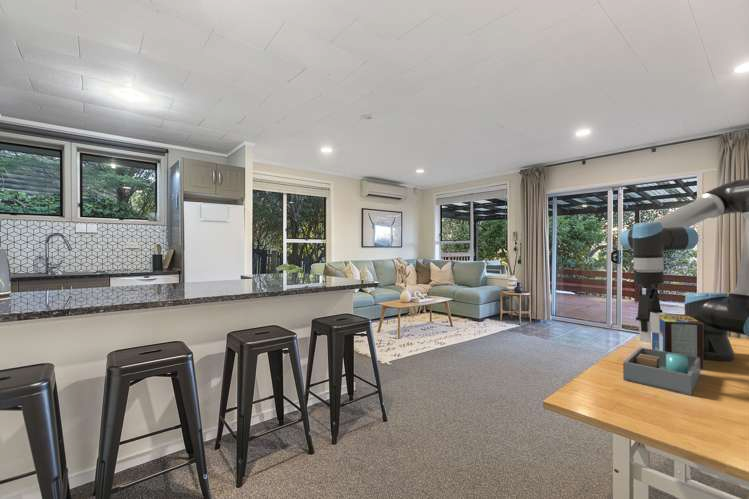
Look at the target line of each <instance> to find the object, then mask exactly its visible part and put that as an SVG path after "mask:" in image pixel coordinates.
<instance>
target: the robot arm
mask: <svg viewBox="0 0 749 499" xmlns="http://www.w3.org/2000/svg"><path fill="white" fill-rule="evenodd" d="M734 213H735V214H736V213H741V216H742V217H743V218H744V219H745V220H746V224H745V230H744V237H743V244H742V250H741V256H740V262H739V268H738V276H737V281H736V287H735V289H733V290H731V291H730V292H728V293H727V292H692V293H691V292H689V293H687V294H686V295H685V297H684V304H683V305H684V314H685V315H688V316H690V317H692V318H694V319H696V320H698V321H700V322H702V323H703V360H711V361H725V362H726V361H727V362H728V361H733V360H734V359H735V351H734V350H733V346H732V344H731V342H730V339H729V337H728V334H729V332H730V333H735V334H738V335H743V336H747V337H749V178H744V179H737V180H732V181H729V182H727V183H724V184H721V185H719V186H717V187H715V188H712V189H710V190H708V191H706V192H704V193H701V194H700V195H698V196H696V198H695V200H694V201H692V202H690V203H688V204H685V205H683V206H682V207H680V208H677V209H675V210H673V211H671V212H669V213H667V214H665V215H662V216H661V217H658V218H656V219H654V220H652V221H650V222H636V223H634V224H633V226H632V228H630V229H629V228H628V229H625V230H623V231H622V232H621V233H620V234H619V235H620V236H619V243H620V245H621V247H622V248H624V249H626V250H631V251H632V254H633V259H632V260H631V264H633V270H635V271H634V272H633V282H634V283H635V284H639V285H640V284H641V287H639V289H638V306H637V316H636V317H635V321H638V323H639V324H638V325H639V326H638V329H639V331H638V332H639V342H641V343H642V342H644V343H648V344H649V343H650V344H652V332H653V333H660V317H659V313H663V309H661V308H662V307H661V302H660V301H661V300H660V296H659V285H662V284H664V282H665V280H664V278H665V277H664V271H663V270H664V268H665V265H664V252H672V251H673V252H675V251H686V250H691V249H694V248H695V247H696V246H697V245H698V244H699V234H698V232H697V231H696V230H695V229H694V228H693V226H695V225H698V224H699V223H701V222H704V221H705V220H707V219H715V218H718V217H720V216H723V215H728V214H734Z"/></svg>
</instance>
